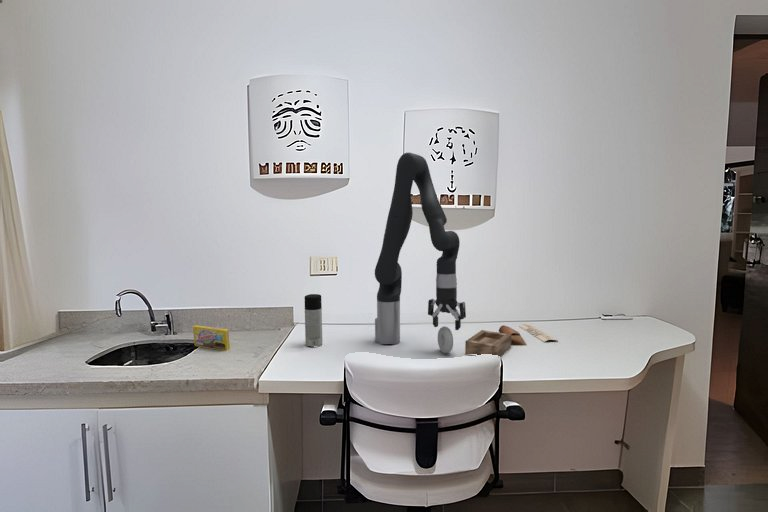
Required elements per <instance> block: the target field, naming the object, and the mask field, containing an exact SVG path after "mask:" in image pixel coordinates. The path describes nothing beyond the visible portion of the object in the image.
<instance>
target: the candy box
mask: <svg viewBox="0 0 768 512" xmlns="http://www.w3.org/2000/svg"><path fill="white" fill-rule="evenodd" d="M192 328H193V342H194V347H199V348H204V347H205V348H206V349H211V348H213V349H212V350H218V349H221V350H220V351H224V350H228V351H230V350H231V348H230V347H231V346H230V329H228V328H221V327H212V326H203V325H197V324H196V325H193V326H192ZM205 348H204V349H205ZM229 349H230V350H229Z"/></svg>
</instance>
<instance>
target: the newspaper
mask: <svg viewBox="0 0 768 512" xmlns="http://www.w3.org/2000/svg"><path fill="white" fill-rule="evenodd" d="M518 327H519V328H520V329H522V330H523V331H526V332H527V333H528V334H530V335H532V336H534V337H535V338H537V339H538V340H539V341H541V342H542V343H546V342H547V341H554V342H557V343H559V341H558V340H557V339H556V338H555V337H552V336H551V335H549V334H548V333H546V332H544V331H543V330H540V329H539V328H537V327H536V326H534V325H532V324H530V323H522V324H520V325H518Z"/></svg>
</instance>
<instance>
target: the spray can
mask: <svg viewBox="0 0 768 512" xmlns="http://www.w3.org/2000/svg"><path fill="white" fill-rule="evenodd" d="M322 310H323V309H322V295H321V294H319V293H317V294H316V293H310V294H306V295H305V296H304V327H305V329H304V332H305V333H304V335H305V346H306V345H307V346H311V347H310V348H315V347H314V346H319V347H321V346H322V345H323V311H322ZM320 345H321V346H320ZM307 346H306V347H307Z"/></svg>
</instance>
